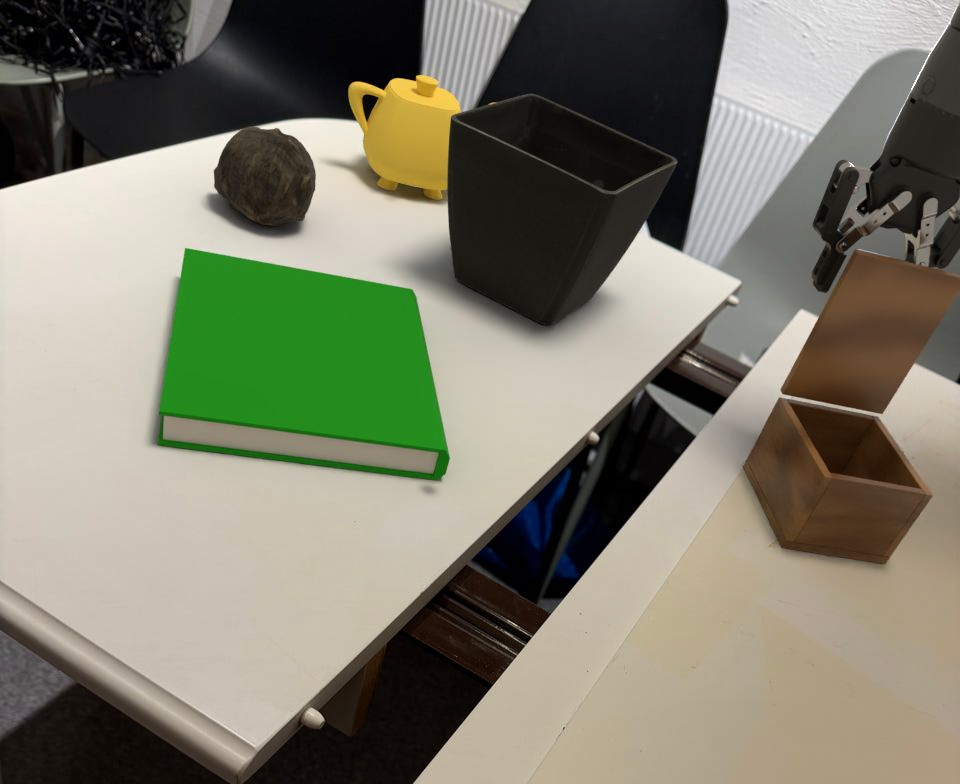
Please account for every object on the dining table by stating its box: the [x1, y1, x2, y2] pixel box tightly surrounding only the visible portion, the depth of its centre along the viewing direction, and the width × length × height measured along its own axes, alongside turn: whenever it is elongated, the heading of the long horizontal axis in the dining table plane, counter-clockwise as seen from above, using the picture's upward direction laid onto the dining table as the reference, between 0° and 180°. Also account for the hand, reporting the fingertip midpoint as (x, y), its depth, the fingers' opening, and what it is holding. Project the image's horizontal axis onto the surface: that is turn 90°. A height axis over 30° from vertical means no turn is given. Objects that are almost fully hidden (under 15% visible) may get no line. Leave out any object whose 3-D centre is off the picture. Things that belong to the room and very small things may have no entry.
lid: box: [780, 248, 960, 415], centre depth 88 cm, size 14×11×6 cm
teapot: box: [347, 74, 498, 201], centre depth 123 cm, size 13×20×12 cm
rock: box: [213, 125, 317, 227], centre depth 105 cm, size 10×11×10 cm
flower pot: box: [446, 93, 678, 326], centre depth 106 cm, size 19×19×17 cm
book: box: [157, 247, 451, 481], centre depth 86 cm, size 22×28×3 cm
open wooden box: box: [742, 396, 934, 565], centre depth 89 cm, size 13×11×8 cm
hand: (853, 295), depth 89 cm, fingers open, 6 cm apart
